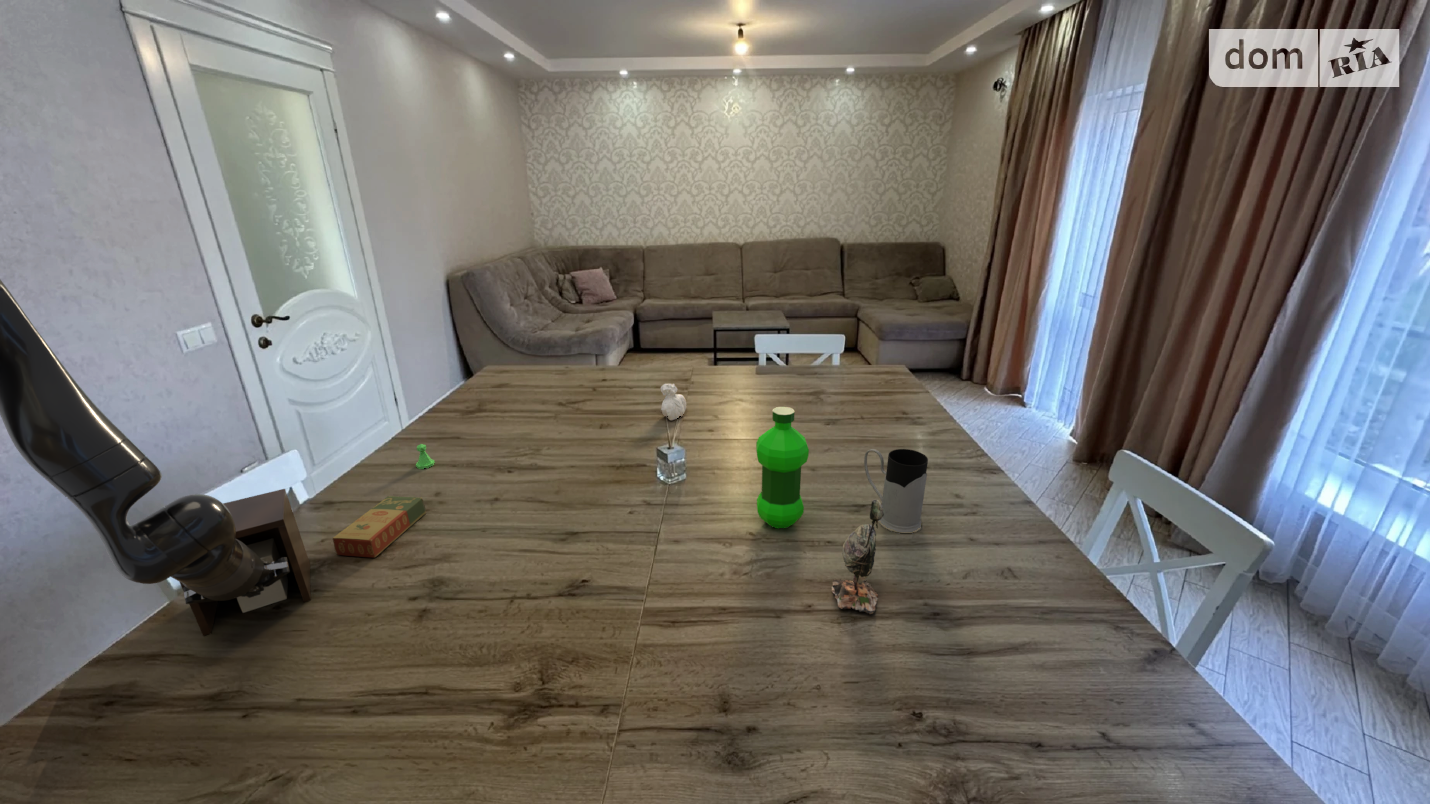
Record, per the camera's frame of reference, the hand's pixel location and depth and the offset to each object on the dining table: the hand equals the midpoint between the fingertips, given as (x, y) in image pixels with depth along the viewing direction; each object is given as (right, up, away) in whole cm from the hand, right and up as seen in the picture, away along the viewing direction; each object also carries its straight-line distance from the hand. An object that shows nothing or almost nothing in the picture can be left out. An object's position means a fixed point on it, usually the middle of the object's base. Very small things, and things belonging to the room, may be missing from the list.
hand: (254, 590), depth 91 cm
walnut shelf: (-2, -3, +4) cm, 5 cm away
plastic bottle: (+89, +6, +24) cm, 93 cm away
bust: (+63, +27, +79) cm, 104 cm away
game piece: (+2, +15, +50) cm, 52 cm away
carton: (+8, +4, +22) cm, 24 cm away
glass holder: (+113, +7, +26) cm, 116 cm away
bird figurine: (+100, -2, +4) cm, 100 cm away
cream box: (-2, -3, +4) cm, 5 cm away
